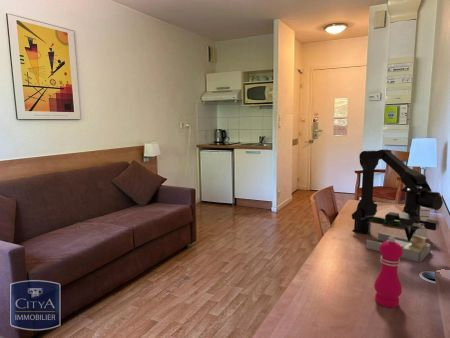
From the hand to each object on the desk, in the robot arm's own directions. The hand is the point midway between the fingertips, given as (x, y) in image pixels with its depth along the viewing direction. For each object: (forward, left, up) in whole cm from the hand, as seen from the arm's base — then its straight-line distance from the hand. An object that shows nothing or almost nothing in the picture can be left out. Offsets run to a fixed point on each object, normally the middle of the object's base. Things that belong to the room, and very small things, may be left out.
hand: (409, 240), depth 135 cm
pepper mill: (+8, -49, -4) cm, 50 cm away
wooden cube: (+4, 0, -2) cm, 4 cm away
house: (-20, +46, -5) cm, 51 cm away
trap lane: (-3, -3, -4) cm, 6 cm away
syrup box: (-1, +22, -4) cm, 22 cm away
